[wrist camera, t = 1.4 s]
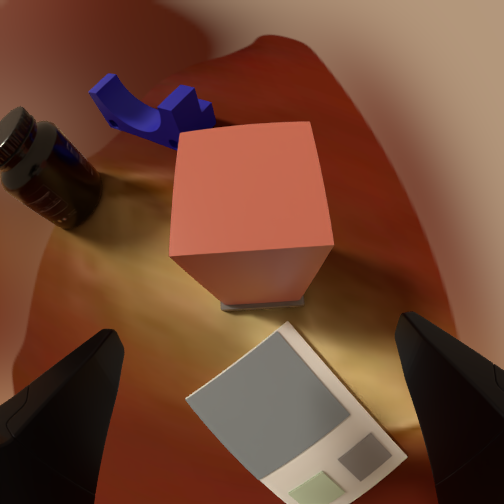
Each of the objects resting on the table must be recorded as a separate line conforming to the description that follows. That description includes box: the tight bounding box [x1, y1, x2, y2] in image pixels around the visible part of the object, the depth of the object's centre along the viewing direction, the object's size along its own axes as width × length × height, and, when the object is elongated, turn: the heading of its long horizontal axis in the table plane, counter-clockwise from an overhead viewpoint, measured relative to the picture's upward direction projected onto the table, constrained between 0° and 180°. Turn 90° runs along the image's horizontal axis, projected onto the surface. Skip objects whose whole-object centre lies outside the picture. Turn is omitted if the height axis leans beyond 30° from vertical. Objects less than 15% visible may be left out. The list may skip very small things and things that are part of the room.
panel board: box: [185, 321, 407, 504], centre depth 16 cm, size 15×9×1 cm, turn 39°
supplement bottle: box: [0, 106, 102, 229], centre depth 18 cm, size 7×7×12 cm
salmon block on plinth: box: [169, 122, 334, 311], centre depth 15 cm, size 6×6×12 cm
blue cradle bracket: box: [89, 74, 216, 151], centre depth 23 cm, size 12×4×6 cm, turn 60°
